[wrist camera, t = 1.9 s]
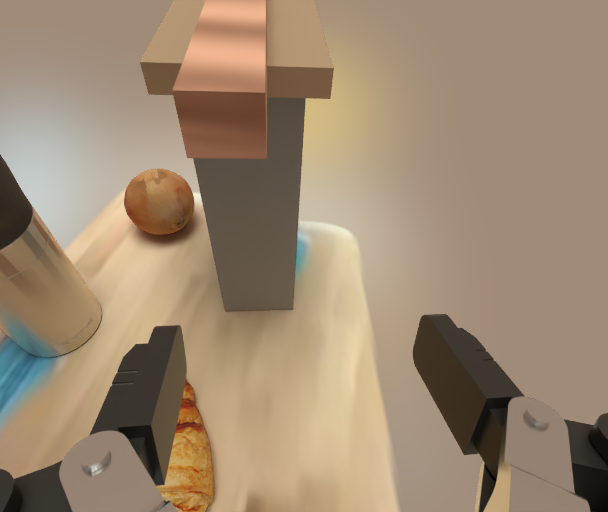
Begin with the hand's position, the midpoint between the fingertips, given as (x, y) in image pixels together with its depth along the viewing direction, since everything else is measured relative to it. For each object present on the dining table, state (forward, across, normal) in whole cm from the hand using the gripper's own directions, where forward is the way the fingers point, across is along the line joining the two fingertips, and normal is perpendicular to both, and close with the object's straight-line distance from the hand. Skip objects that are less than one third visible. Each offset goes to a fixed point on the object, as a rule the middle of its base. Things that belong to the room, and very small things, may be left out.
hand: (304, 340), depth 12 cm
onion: (+46, +15, +15) cm, 51 cm away
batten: (+19, +2, -9) cm, 22 cm away
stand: (+36, +1, +19) cm, 40 cm away
